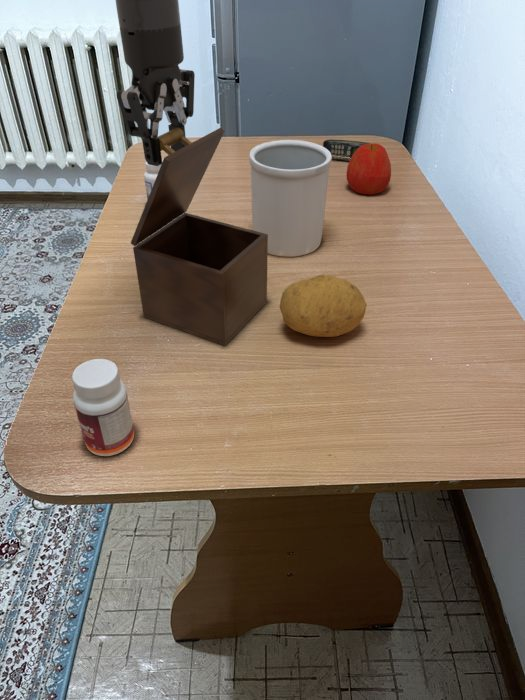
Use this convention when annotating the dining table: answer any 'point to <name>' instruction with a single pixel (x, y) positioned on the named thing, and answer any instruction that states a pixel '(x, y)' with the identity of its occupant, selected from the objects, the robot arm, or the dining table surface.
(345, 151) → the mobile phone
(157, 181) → the lid
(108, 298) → the dining table surface
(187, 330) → the chest
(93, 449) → the pill bottle
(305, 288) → the potato
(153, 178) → the pill bottle
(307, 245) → the utensil holder
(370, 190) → the apple
